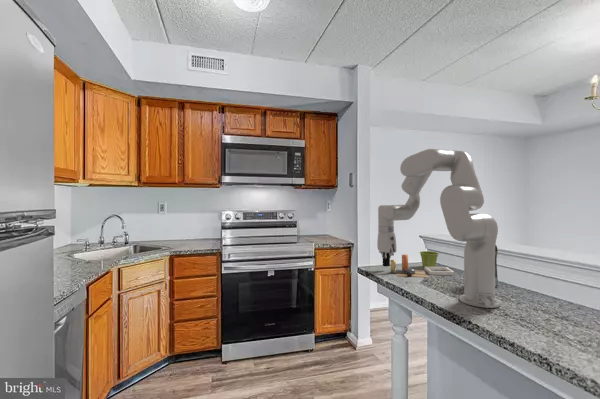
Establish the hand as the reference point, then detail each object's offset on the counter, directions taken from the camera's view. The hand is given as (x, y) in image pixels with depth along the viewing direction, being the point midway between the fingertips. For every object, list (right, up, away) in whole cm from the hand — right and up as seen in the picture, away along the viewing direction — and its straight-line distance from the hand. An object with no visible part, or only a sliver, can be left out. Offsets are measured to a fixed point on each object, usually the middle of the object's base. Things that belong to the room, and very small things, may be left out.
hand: (386, 265), depth 153 cm
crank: (+7, -2, -5) cm, 9 cm away
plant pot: (+25, -4, +8) cm, 27 cm away
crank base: (+10, -3, -6) cm, 12 cm away
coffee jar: (+36, -3, -23) cm, 43 cm away
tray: (+25, -3, -4) cm, 25 cm away
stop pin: (+9, -3, 0) cm, 10 cm away
